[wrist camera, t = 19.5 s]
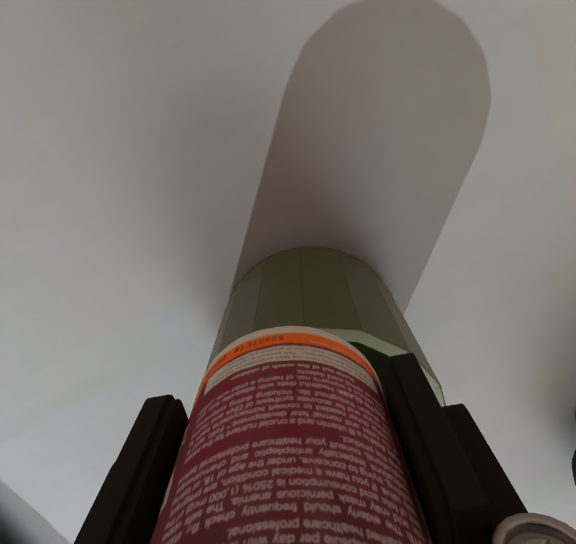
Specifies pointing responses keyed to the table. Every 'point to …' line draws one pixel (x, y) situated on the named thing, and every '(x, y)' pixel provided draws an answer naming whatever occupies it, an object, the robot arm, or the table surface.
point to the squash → (574, 466)
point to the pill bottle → (290, 450)
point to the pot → (323, 306)
